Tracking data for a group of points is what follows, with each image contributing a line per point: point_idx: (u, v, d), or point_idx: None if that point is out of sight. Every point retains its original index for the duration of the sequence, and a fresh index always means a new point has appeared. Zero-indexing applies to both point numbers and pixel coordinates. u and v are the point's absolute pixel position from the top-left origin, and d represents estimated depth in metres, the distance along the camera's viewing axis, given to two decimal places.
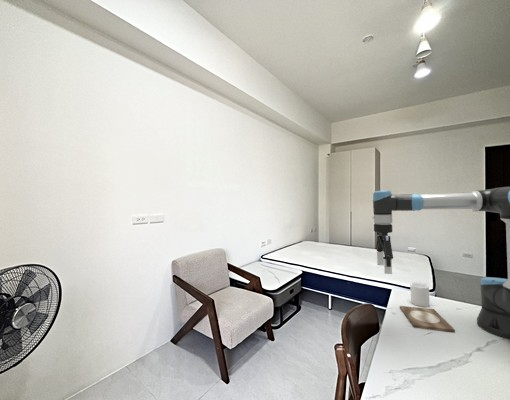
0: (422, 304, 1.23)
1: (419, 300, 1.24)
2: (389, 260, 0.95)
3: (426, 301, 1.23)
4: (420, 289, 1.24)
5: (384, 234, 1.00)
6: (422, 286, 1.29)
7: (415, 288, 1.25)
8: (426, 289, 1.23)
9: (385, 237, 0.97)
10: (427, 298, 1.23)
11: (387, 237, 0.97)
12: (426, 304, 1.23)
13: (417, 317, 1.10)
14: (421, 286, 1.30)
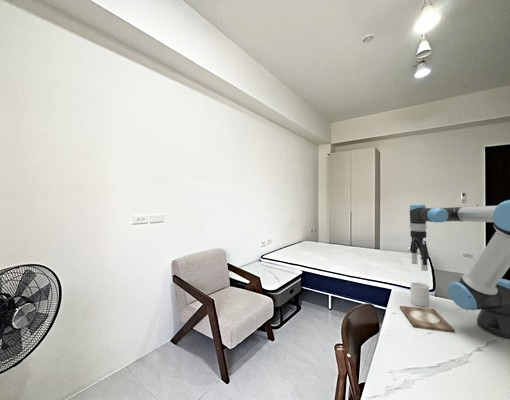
0: (422, 304, 1.23)
1: (419, 300, 1.24)
2: (425, 260, 1.20)
3: (426, 301, 1.23)
4: (420, 289, 1.24)
5: (420, 239, 1.25)
6: (422, 286, 1.29)
7: (415, 288, 1.25)
8: (426, 289, 1.23)
9: (422, 241, 1.22)
10: (427, 298, 1.23)
11: (423, 241, 1.22)
12: (426, 304, 1.23)
13: (417, 317, 1.10)
14: (421, 286, 1.30)
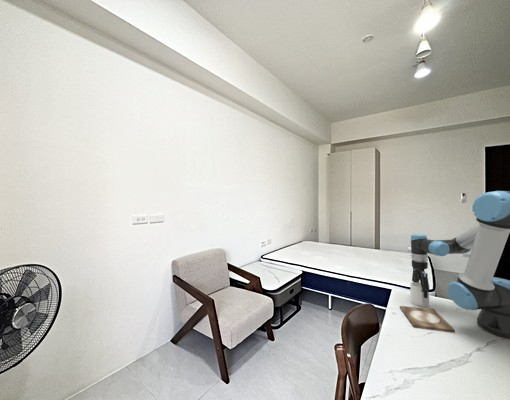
0: (422, 304, 1.23)
1: (418, 300, 1.24)
2: (426, 293, 1.21)
3: None
4: (420, 289, 1.24)
5: (421, 270, 1.25)
6: None
7: (415, 288, 1.25)
8: None
9: (423, 274, 1.22)
10: None
11: (425, 274, 1.22)
12: (426, 304, 1.23)
13: (417, 317, 1.10)
14: None
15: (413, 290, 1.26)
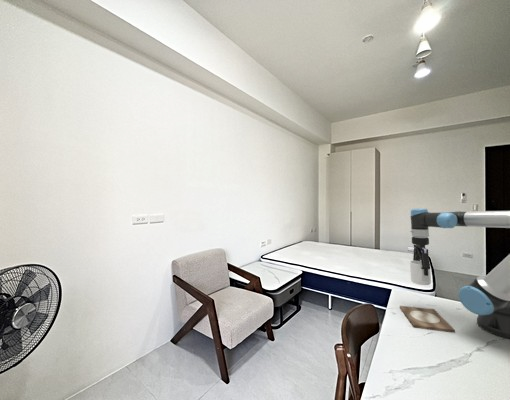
0: (422, 282, 1.15)
1: (419, 278, 1.16)
2: (426, 270, 1.13)
3: None
4: (420, 266, 1.16)
5: (422, 246, 1.16)
6: None
7: (415, 265, 1.17)
8: None
9: (423, 250, 1.14)
10: None
11: (425, 250, 1.13)
12: (427, 282, 1.15)
13: (417, 317, 1.10)
14: None
15: (413, 268, 1.18)
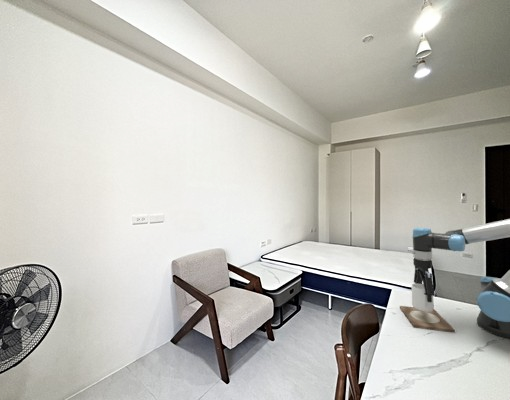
0: (425, 309, 1.06)
1: (421, 304, 1.07)
2: (430, 296, 1.04)
3: None
4: (423, 291, 1.07)
5: (425, 270, 1.08)
6: None
7: (417, 290, 1.09)
8: None
9: (427, 275, 1.05)
10: None
11: (429, 275, 1.05)
12: (430, 309, 1.06)
13: (417, 317, 1.10)
14: (424, 288, 1.13)
15: (415, 292, 1.10)
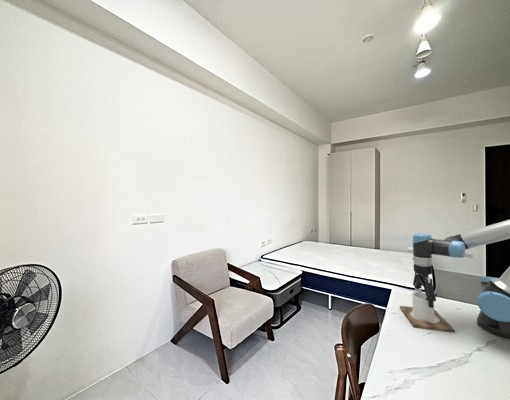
0: (426, 318, 1.06)
1: (422, 314, 1.07)
2: (431, 301, 1.03)
3: (430, 315, 1.06)
4: (423, 301, 1.07)
5: (425, 276, 1.08)
6: (426, 297, 1.12)
7: (418, 299, 1.08)
8: None
9: (427, 280, 1.05)
10: None
11: (429, 280, 1.05)
12: (430, 318, 1.06)
13: None
14: (425, 297, 1.13)
15: (415, 302, 1.09)
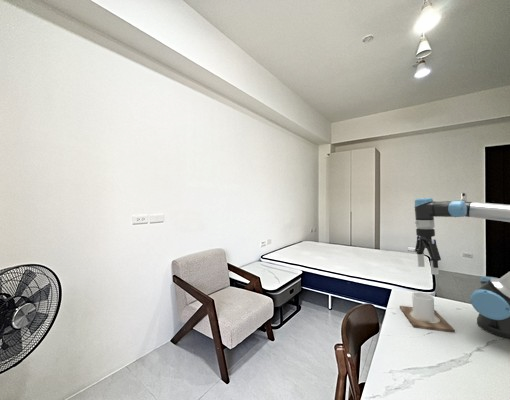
0: (426, 318, 1.06)
1: (422, 314, 1.07)
2: (436, 262, 1.04)
3: (430, 315, 1.06)
4: (423, 301, 1.07)
5: (428, 238, 1.09)
6: (426, 297, 1.12)
7: (417, 299, 1.08)
8: (430, 301, 1.06)
9: (431, 240, 1.06)
10: (432, 311, 1.06)
11: (433, 240, 1.06)
12: (430, 318, 1.06)
13: None
14: (425, 297, 1.13)
15: (415, 302, 1.09)
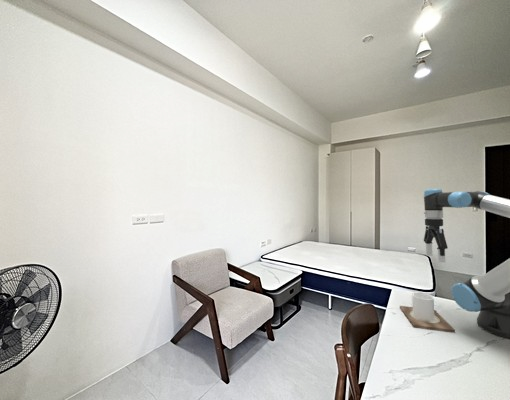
0: (426, 318, 1.06)
1: (422, 314, 1.07)
2: (443, 250, 1.08)
3: (430, 315, 1.06)
4: (423, 301, 1.07)
5: (436, 227, 1.13)
6: (426, 297, 1.12)
7: (417, 299, 1.08)
8: (430, 301, 1.06)
9: (439, 230, 1.10)
10: (432, 311, 1.06)
11: (440, 230, 1.10)
12: (430, 318, 1.06)
13: None
14: (425, 297, 1.13)
15: (415, 302, 1.09)
